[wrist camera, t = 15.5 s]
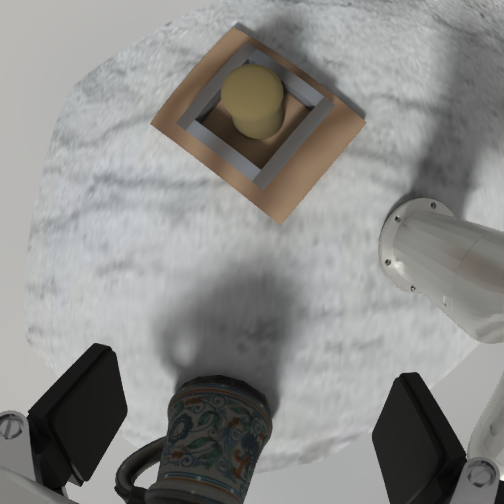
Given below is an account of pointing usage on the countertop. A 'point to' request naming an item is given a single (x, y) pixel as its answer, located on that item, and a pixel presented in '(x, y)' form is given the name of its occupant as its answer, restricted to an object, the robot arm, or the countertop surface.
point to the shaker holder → (259, 151)
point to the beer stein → (202, 446)
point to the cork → (254, 101)
